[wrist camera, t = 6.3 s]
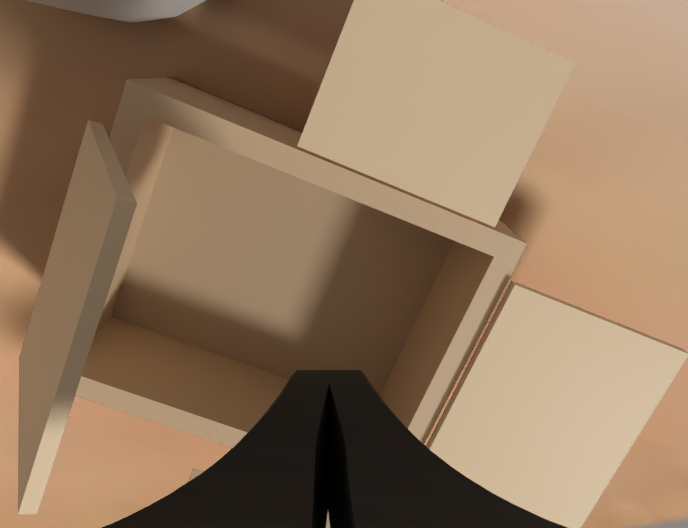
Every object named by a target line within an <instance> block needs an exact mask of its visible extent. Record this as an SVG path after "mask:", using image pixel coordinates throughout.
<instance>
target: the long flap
mask: <svg viewBox="0 0 688 528" xmlns="http://www.w3.org/2000/svg"><path fill="white" fill-rule="evenodd" d="M136 206H137V202H136V200H135V197H134V195H133V193H132V190H131V188H130V186H129V183H128V181H127V179H126V177H125V174H124V172H123V170H122V167H121V165H120V163H119V160H118V158H117V156H116V153H115V151H114V149H113V147H112V144H111V142H110V140H109V137H108V135H107V133H106V130H105V128H104V126H103V124H101V123H98V122H95V121H92V120H88V122H87V125H86V129H85V132H84V136H83V139H82V143H81V146H80V149H79V153H78V156H77V160H76V163H75V167H74V170H73V174H72V177H71V181H70V184H69V187H68V191H67V194H66V198H65V201H64V205H63V208H62V212H61V215H60V219H59V222H58V225H57V229H56V232H55V236H54V239H53V243H52V246H51V250H50V253H49V257H48V260H47V264H46V267H45V270H44V274H43V277H42V281H41V284H40V288H39V291H38V295H37V298H36V302H35V305H34V308H33V312H32V315H31V319H30V322H29V326H28V329H27V333H26V336H25V340H24V343H23V347H22V350H21V353H20V357H19V453H18V514H37V512H38V509H39V506H40V503H41V499H42V496H43V493H44V490H45V487H46V484H47V481H48V478H49V475H50V472H51V469H52V465H53V462H54V459H55V456H56V453H57V450H58V447H59V444H60V441H61V438H62V435H63V431H64V428H65V425H66V422H67V419H68V416H69V413H70V410H71V407H72V404H73V401H74V397H75V394H76V391H77V388H78V385H79V382H80V379H81V376H82V373H83V370H84V367H85V363H86V360H87V357H88V354H89V351H90V348H91V345H92V342H93V339H94V336H95V333H96V329H97V326H98V323H99V320H100V317H101V314H102V311H103V308H104V305H105V302H106V298H107V295H108V292H109V289H110V286H111V283H112V280H113V277H114V274H115V271H116V268H117V264H118V261H119V258H120V255H121V252H122V249H123V246H124V243H125V240H126V237H127V234H128V230H129V227H130V224H131V221H132V218H133V215H134V212H135V209H136Z"/></svg>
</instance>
